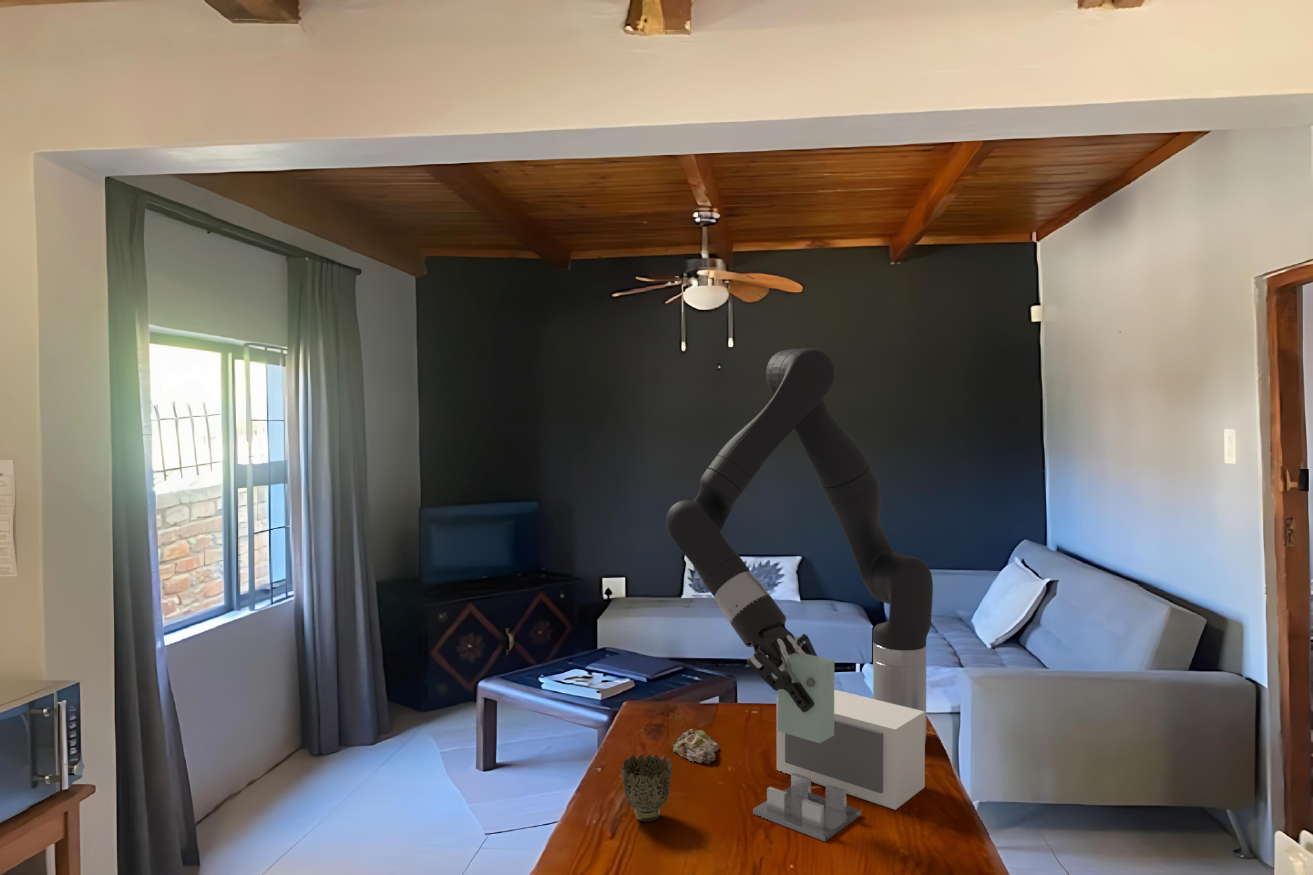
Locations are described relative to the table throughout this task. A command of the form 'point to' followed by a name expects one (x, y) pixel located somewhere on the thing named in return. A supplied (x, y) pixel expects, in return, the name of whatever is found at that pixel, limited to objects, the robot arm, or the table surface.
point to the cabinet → (863, 751)
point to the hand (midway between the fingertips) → (817, 704)
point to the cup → (647, 784)
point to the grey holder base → (808, 808)
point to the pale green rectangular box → (820, 688)
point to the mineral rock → (696, 746)
